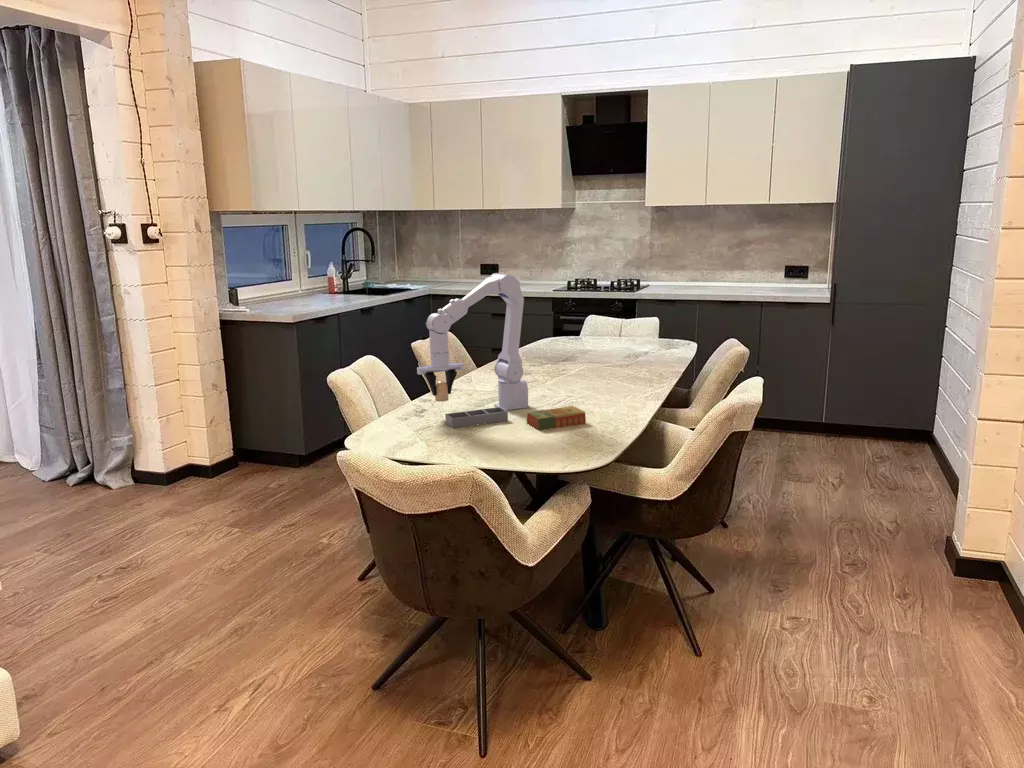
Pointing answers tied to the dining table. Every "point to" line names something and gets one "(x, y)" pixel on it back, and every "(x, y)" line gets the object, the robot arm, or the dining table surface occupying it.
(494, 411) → the egg holder
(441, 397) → the egg
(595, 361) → the dining table surface
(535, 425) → the carton
